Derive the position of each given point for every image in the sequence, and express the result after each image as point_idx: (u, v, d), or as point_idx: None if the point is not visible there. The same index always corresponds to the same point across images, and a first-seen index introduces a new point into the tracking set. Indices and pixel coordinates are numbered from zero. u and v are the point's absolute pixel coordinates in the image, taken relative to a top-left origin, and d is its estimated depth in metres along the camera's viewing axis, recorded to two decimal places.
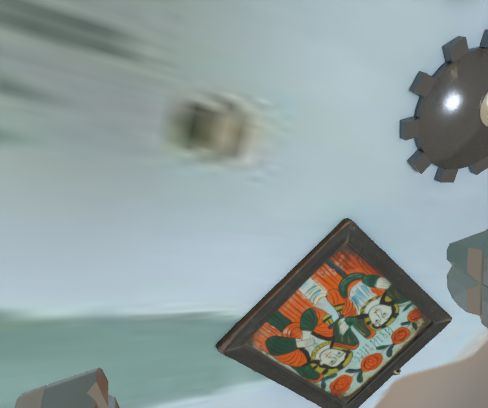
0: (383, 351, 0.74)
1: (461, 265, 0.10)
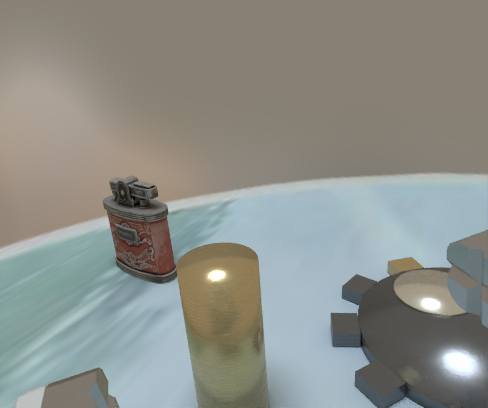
0: None
1: (461, 265, 0.10)
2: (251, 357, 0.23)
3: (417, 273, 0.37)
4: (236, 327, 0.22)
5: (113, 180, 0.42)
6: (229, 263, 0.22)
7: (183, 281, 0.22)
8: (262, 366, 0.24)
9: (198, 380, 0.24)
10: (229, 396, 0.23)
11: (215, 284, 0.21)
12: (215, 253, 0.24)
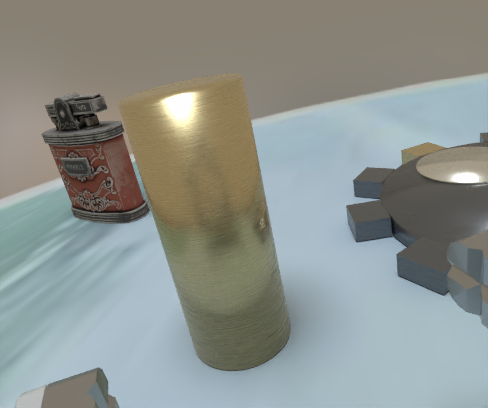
0: None
1: (461, 265, 0.10)
2: (253, 228, 0.15)
3: (441, 153, 0.30)
4: (224, 174, 0.14)
5: (50, 103, 0.33)
6: (199, 85, 0.15)
7: (128, 110, 0.14)
8: (271, 248, 0.17)
9: (181, 281, 0.16)
10: (229, 294, 0.16)
11: (178, 97, 0.13)
12: (177, 85, 0.16)
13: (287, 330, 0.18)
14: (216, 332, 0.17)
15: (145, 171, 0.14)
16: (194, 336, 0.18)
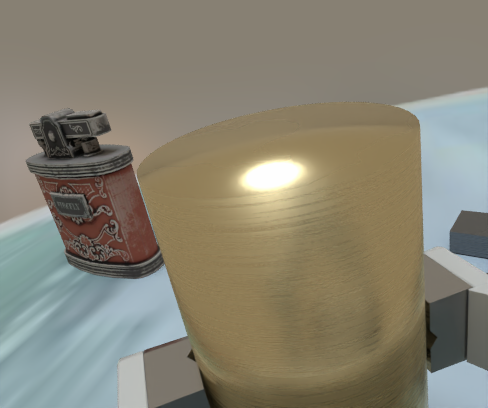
0: None
1: None
2: None
3: None
4: (383, 344, 0.06)
5: (35, 122, 0.25)
6: (316, 133, 0.07)
7: (165, 204, 0.06)
8: None
9: None
10: None
11: (304, 185, 0.05)
12: (255, 127, 0.08)
13: None
14: None
15: (197, 326, 0.07)
16: None
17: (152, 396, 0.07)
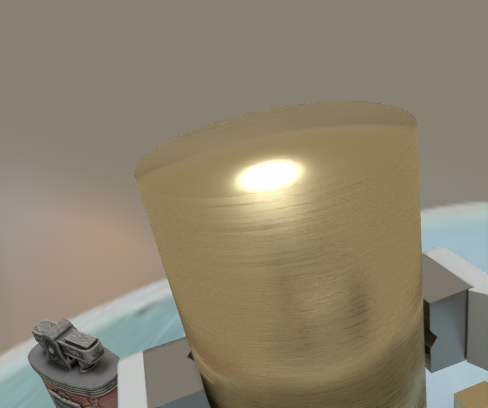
0: None
1: None
2: None
3: None
4: (381, 344, 0.06)
5: (37, 329, 0.28)
6: (314, 132, 0.07)
7: (163, 204, 0.06)
8: None
9: None
10: None
11: (301, 184, 0.05)
12: (253, 126, 0.08)
13: None
14: None
15: (195, 325, 0.07)
16: None
17: (152, 396, 0.07)
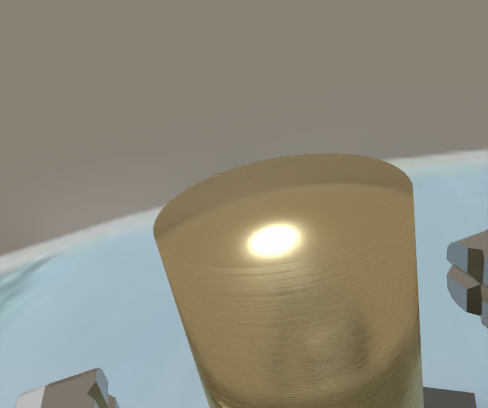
0: None
1: (461, 265, 0.10)
2: None
3: None
4: (381, 392, 0.07)
5: None
6: (318, 193, 0.07)
7: (182, 267, 0.06)
8: None
9: None
10: None
11: (307, 258, 0.05)
12: (261, 180, 0.08)
13: None
14: None
15: (210, 372, 0.07)
16: None
17: None
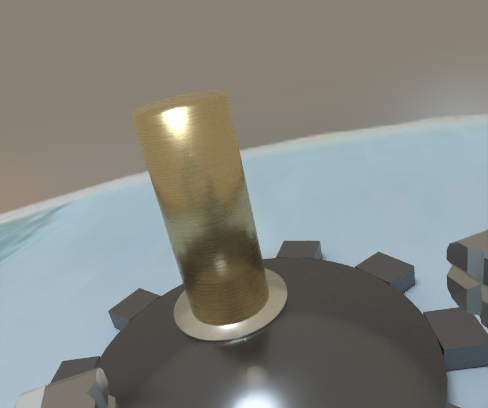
0: None
1: (461, 265, 0.10)
2: (236, 210, 0.20)
3: None
4: (212, 168, 0.18)
5: None
6: (193, 99, 0.19)
7: (139, 120, 0.18)
8: (251, 227, 0.21)
9: (179, 252, 0.20)
10: (218, 262, 0.20)
11: (177, 111, 0.17)
12: (177, 99, 0.20)
13: (266, 295, 0.23)
14: (208, 294, 0.21)
15: (152, 166, 0.19)
16: (191, 298, 0.22)
17: None
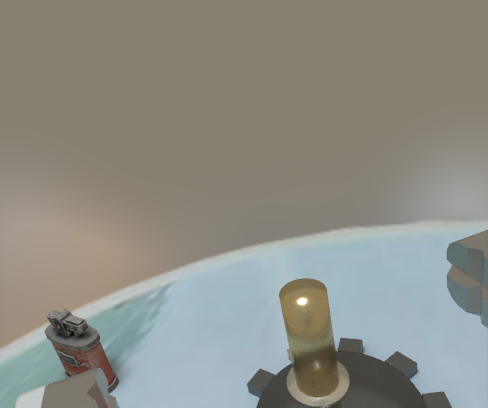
0: None
1: (461, 265, 0.10)
2: (329, 343, 0.40)
3: None
4: (321, 328, 0.38)
5: (50, 315, 0.49)
6: (310, 292, 0.39)
7: (288, 307, 0.38)
8: (334, 348, 0.41)
9: (298, 362, 0.40)
10: (319, 368, 0.40)
11: (308, 306, 0.37)
12: (298, 287, 0.40)
13: (338, 379, 0.43)
14: (312, 382, 0.41)
15: (290, 325, 0.39)
16: (300, 382, 0.42)
17: None
